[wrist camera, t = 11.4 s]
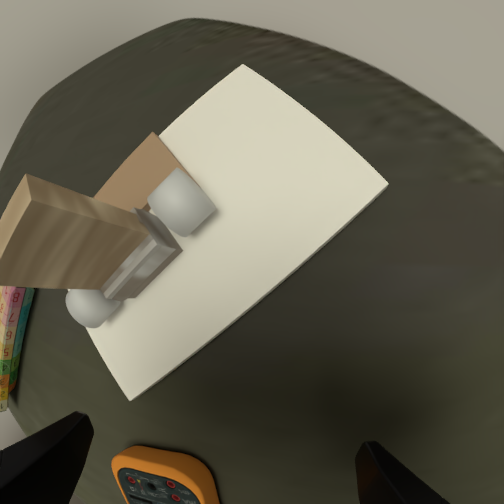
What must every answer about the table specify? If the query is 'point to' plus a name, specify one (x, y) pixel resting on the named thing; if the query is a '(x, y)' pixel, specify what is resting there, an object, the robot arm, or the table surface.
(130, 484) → the multimeter
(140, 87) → the table surface
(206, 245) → the board
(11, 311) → the puzzle game
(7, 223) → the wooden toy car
